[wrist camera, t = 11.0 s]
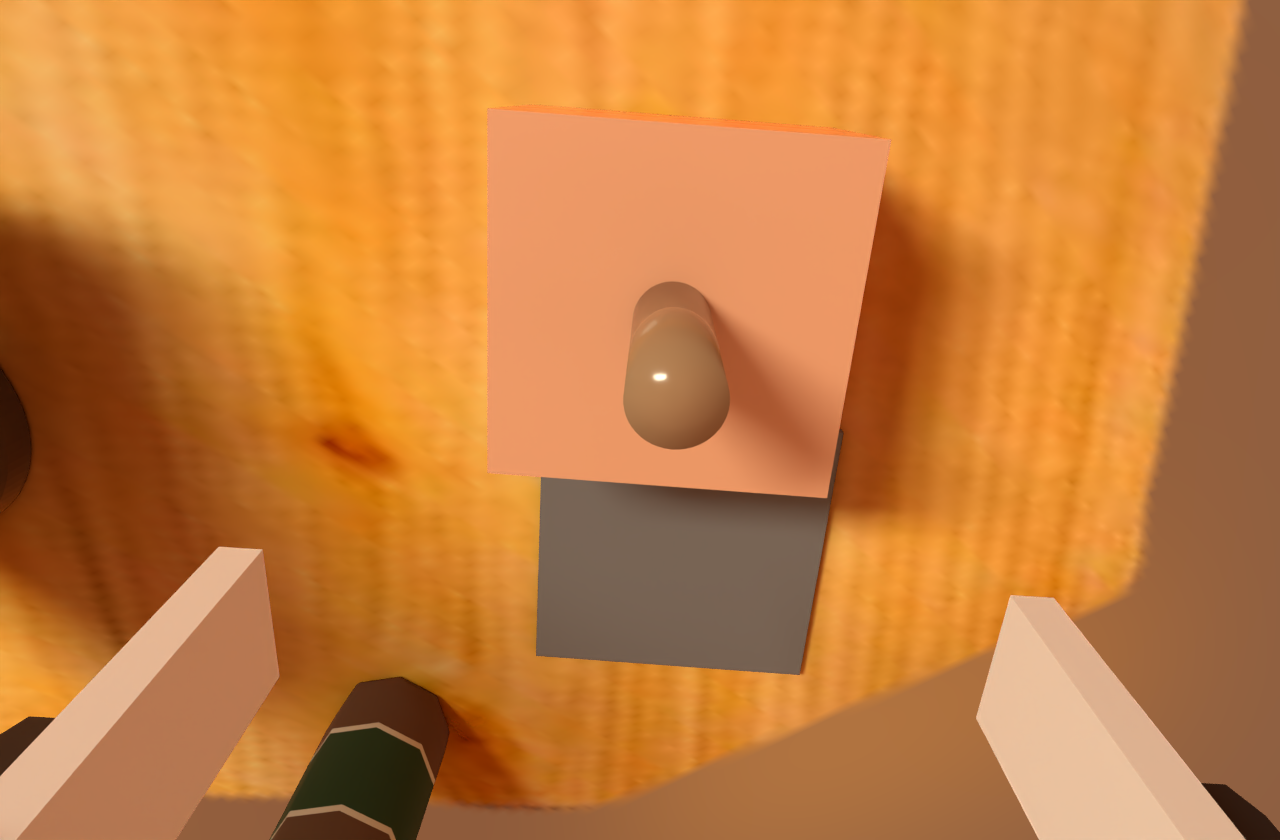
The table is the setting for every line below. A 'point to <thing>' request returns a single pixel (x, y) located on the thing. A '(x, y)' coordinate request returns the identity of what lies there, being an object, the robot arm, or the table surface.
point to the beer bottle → (371, 767)
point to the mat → (678, 574)
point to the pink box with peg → (674, 296)
